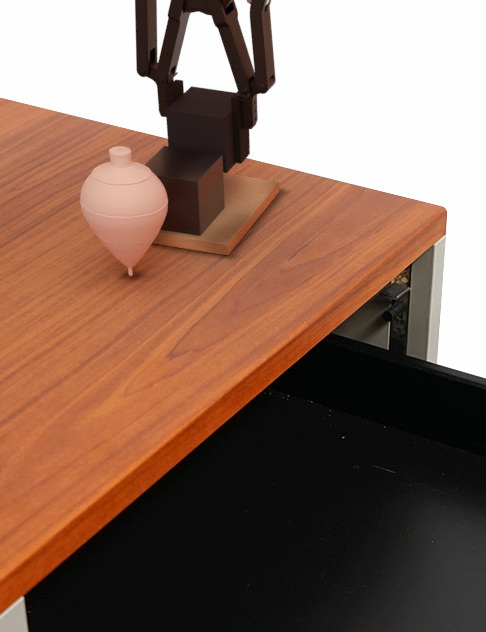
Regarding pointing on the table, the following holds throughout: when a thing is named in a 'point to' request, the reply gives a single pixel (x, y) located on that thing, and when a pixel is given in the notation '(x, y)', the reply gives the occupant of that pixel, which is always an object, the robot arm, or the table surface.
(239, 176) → the board
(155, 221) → the spinning top
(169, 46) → the robot arm
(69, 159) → the table surface
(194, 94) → the black cube
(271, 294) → the table surface
